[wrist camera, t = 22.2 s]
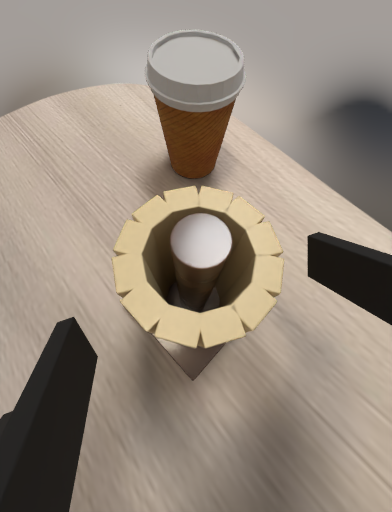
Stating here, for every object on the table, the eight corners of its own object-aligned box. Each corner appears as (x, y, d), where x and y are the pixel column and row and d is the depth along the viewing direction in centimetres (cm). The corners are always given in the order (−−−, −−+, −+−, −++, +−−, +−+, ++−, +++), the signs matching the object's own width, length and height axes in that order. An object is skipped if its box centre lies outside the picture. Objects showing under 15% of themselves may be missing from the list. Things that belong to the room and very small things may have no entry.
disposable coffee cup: (218, 195, 28) (239, 98, 17) (149, 179, 28) (125, 75, 17) (232, 144, 31) (256, 37, 20) (170, 131, 32) (161, 19, 21)
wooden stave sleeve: (135, 300, 21) (76, 253, 10) (192, 248, 23) (198, 163, 12) (193, 363, 19) (201, 394, 8) (249, 300, 21) (316, 255, 10)
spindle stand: (125, 302, 22) (22, 236, 8) (192, 242, 25) (199, 120, 11) (192, 378, 20) (204, 464, 6) (258, 302, 23) (369, 241, 9)
